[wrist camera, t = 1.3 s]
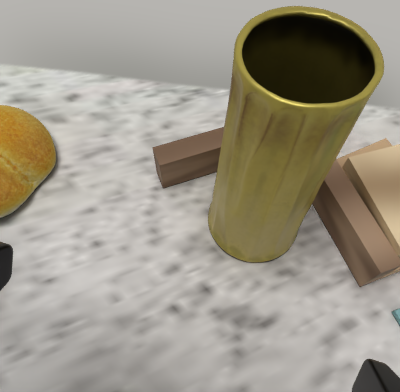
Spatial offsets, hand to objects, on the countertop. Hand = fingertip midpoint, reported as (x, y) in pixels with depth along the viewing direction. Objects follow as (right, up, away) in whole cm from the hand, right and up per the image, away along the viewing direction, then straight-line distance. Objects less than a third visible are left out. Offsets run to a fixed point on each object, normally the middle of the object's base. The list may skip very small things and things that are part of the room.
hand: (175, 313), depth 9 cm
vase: (+4, +1, +17) cm, 17 cm away
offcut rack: (+7, +2, +17) cm, 19 cm away
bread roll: (-14, +4, +19) cm, 24 cm away
